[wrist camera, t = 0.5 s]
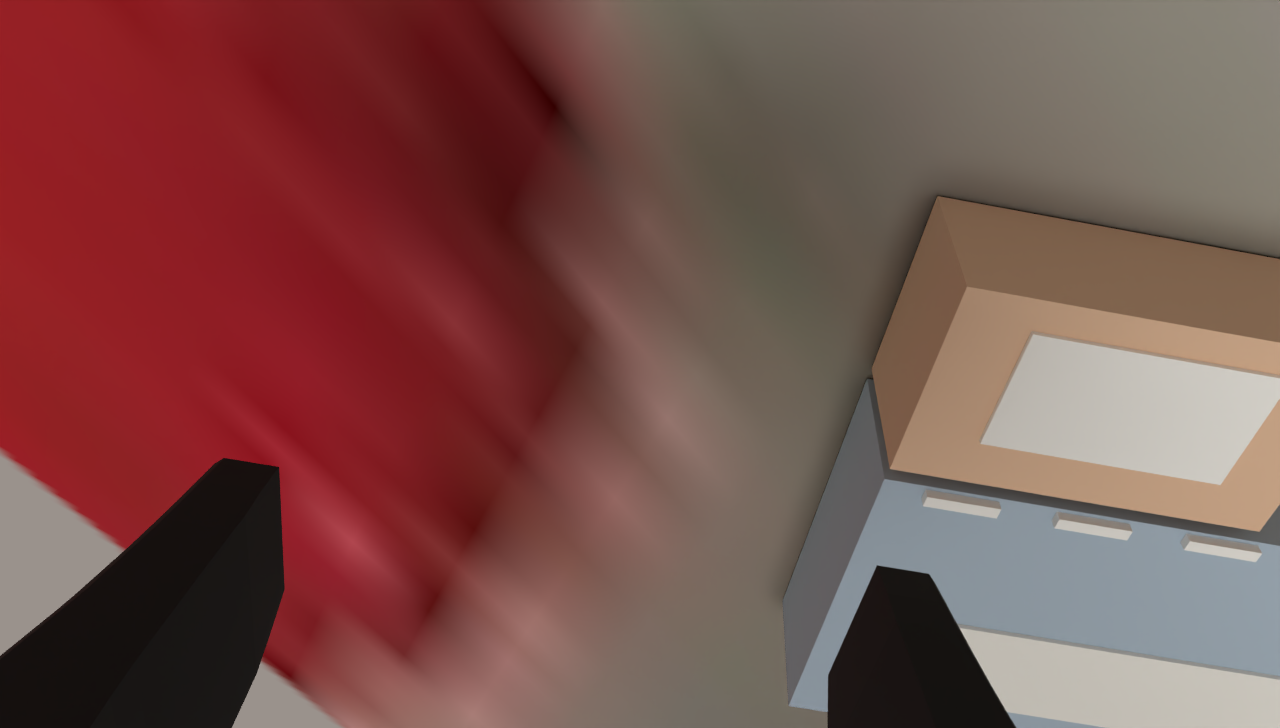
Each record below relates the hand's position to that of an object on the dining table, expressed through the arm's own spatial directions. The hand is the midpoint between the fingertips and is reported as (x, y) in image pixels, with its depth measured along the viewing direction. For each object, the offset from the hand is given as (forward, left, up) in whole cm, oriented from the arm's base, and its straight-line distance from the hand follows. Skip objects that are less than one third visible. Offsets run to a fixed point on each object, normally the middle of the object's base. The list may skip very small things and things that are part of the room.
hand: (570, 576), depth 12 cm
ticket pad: (-7, -12, -9) cm, 17 cm away
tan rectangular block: (-1, -9, -9) cm, 13 cm away
